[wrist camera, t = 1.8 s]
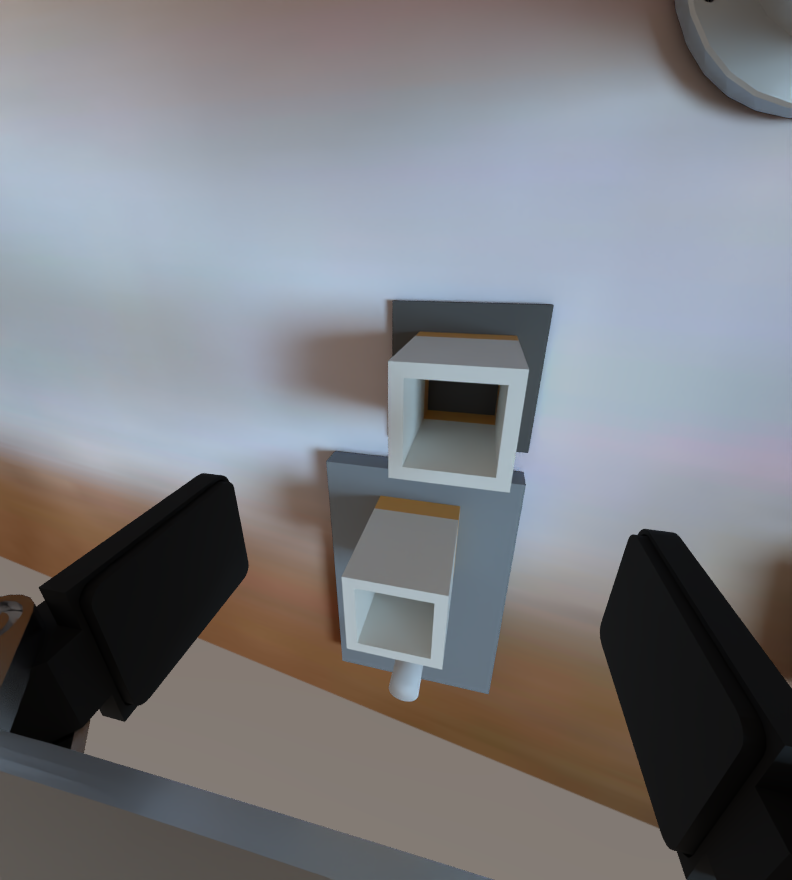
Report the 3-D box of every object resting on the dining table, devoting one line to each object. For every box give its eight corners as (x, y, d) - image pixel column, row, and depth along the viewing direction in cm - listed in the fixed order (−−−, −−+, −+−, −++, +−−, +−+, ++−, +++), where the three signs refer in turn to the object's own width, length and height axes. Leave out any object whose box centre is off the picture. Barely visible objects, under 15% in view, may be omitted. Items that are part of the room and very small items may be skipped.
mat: (394, 300, 20) (392, 301, 20) (552, 304, 19) (553, 305, 18) (393, 436, 24) (392, 439, 23) (527, 449, 22) (528, 452, 22)
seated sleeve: (380, 495, 24) (341, 576, 18) (460, 506, 23) (448, 596, 17) (381, 556, 26) (346, 648, 20) (454, 569, 25) (442, 669, 19)
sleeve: (419, 331, 20) (387, 361, 14) (517, 335, 19) (529, 369, 13) (416, 418, 22) (388, 477, 16) (504, 426, 21) (509, 492, 15)
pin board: (334, 451, 25) (297, 496, 20) (523, 472, 23) (532, 529, 18) (348, 644, 33) (323, 710, 28) (488, 675, 31) (488, 752, 26)
